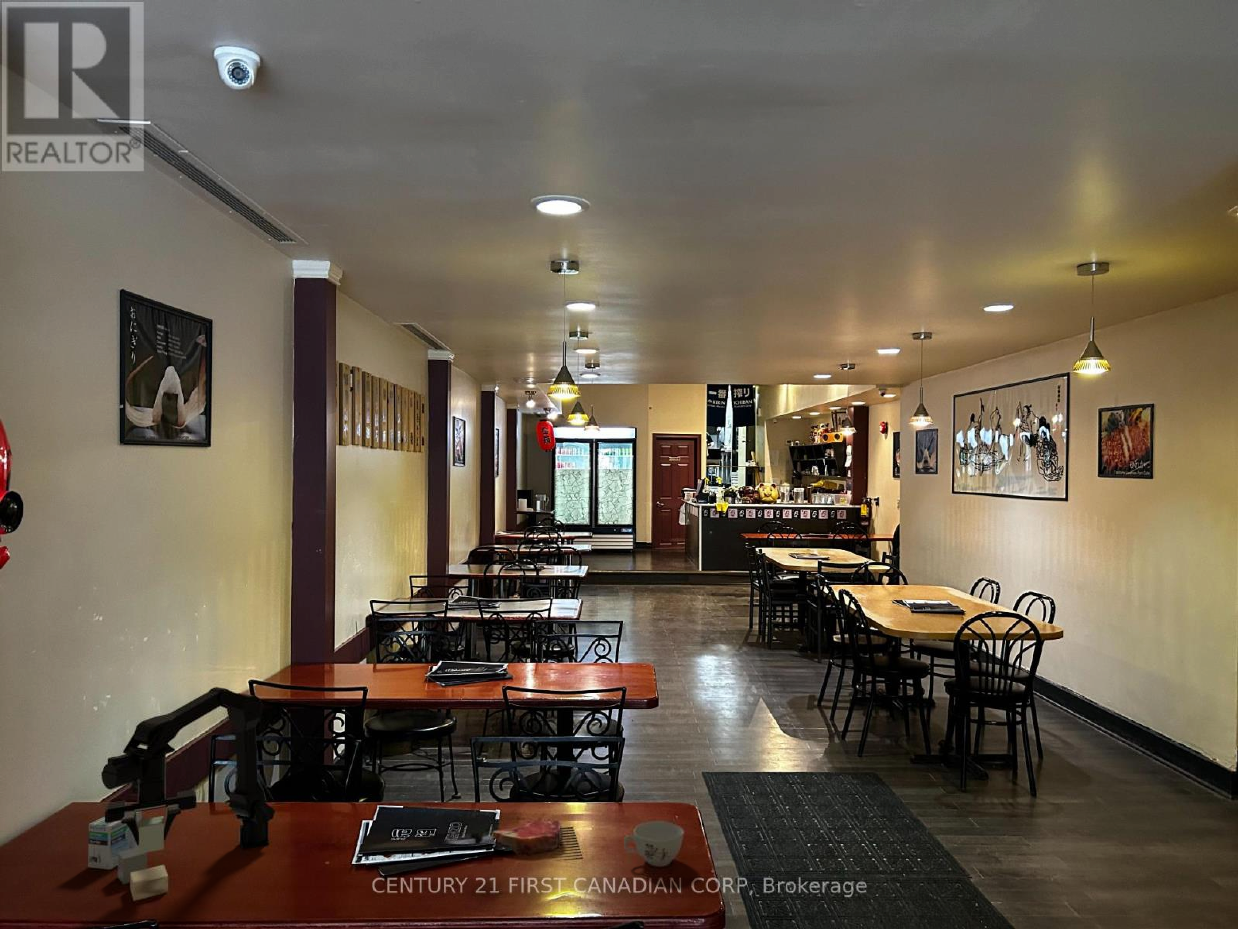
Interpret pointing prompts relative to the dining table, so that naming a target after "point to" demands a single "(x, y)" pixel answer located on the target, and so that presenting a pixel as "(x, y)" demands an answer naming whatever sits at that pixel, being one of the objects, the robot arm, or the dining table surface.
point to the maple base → (148, 882)
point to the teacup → (656, 842)
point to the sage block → (151, 834)
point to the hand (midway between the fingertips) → (151, 842)
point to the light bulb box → (109, 842)
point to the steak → (537, 837)
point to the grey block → (130, 863)
